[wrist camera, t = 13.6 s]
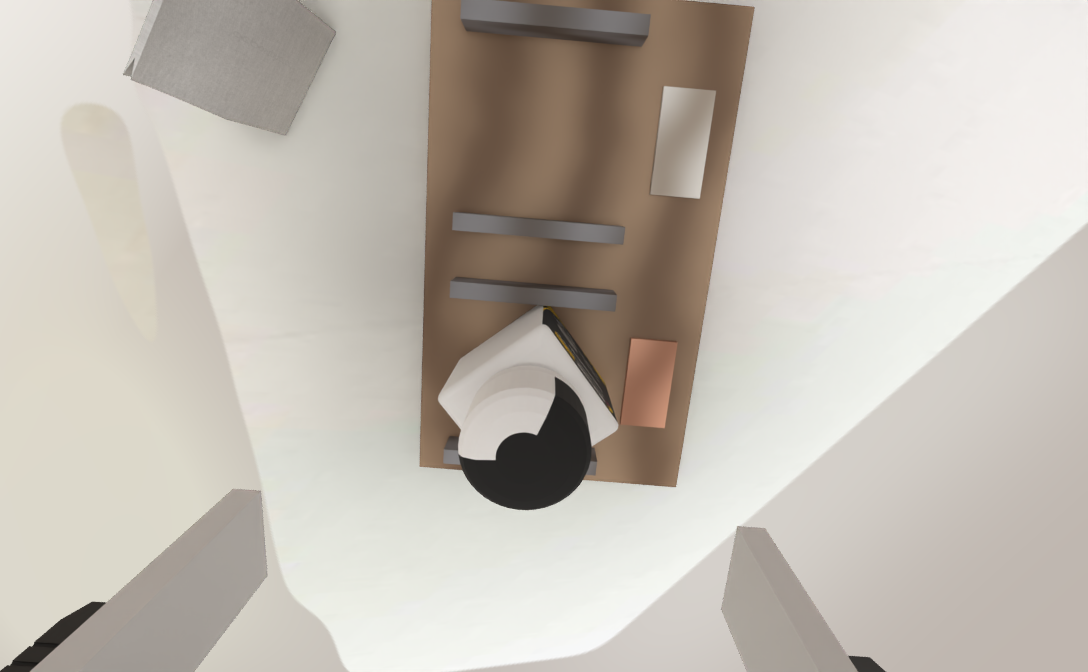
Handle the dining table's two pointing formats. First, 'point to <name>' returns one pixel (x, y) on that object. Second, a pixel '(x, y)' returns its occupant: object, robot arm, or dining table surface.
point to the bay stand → (580, 199)
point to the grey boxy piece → (232, 56)
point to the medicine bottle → (528, 412)
